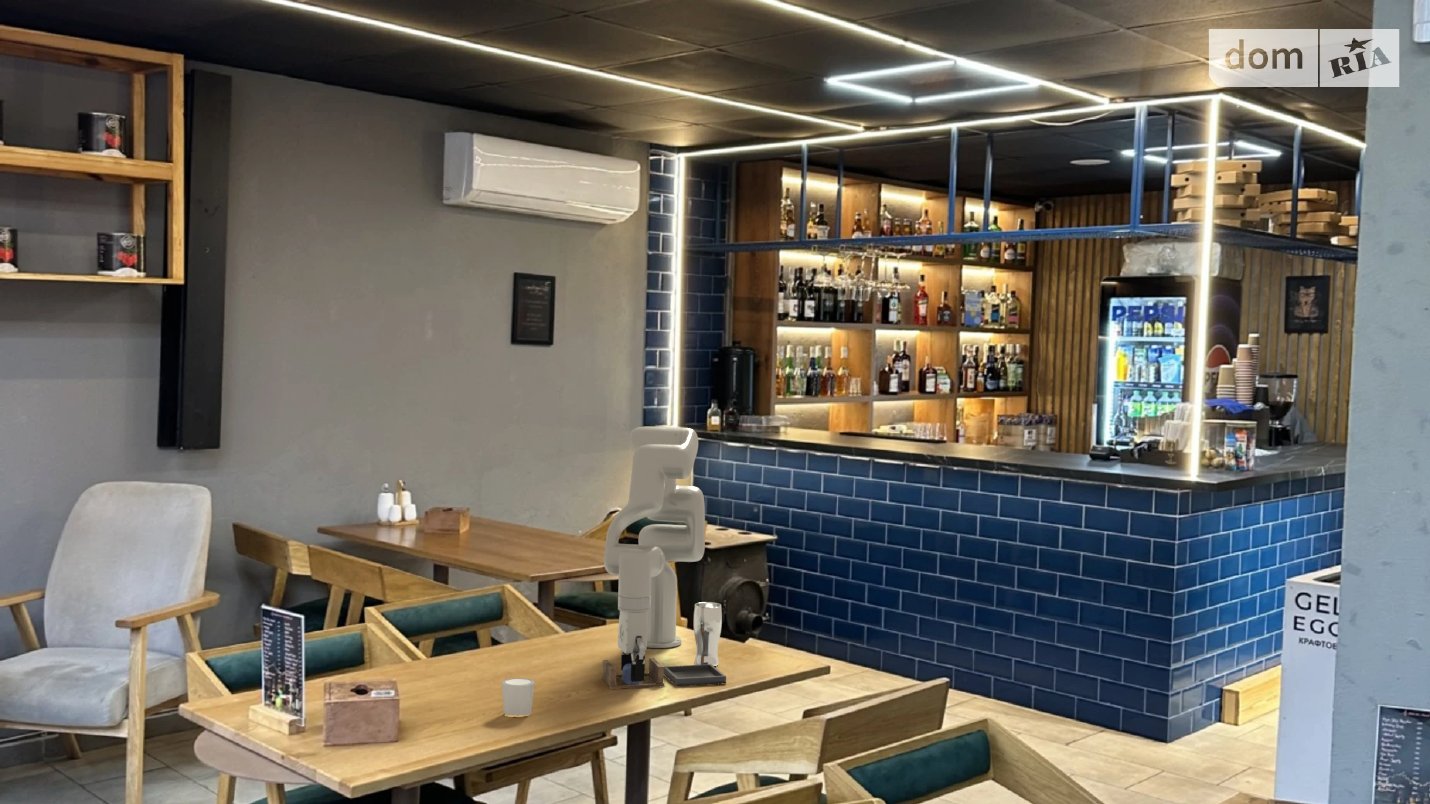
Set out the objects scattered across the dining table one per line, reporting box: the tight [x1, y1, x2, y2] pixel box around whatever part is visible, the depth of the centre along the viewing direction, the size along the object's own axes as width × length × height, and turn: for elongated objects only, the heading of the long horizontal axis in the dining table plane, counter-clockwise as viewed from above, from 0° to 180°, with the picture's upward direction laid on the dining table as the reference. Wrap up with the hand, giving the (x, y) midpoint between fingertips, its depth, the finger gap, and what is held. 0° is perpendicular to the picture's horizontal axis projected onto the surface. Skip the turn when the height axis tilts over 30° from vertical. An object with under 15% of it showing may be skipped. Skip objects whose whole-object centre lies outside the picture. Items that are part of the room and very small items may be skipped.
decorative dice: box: [621, 664, 643, 685], centre depth 303 cm, size 4×4×4 cm
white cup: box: [501, 677, 535, 716], centre depth 274 cm, size 7×7×7 cm
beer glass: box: [693, 601, 723, 667], centre depth 321 cm, size 7×7×15 cm
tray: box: [663, 664, 727, 687], centre depth 307 cm, size 12×12×2 cm
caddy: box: [601, 657, 665, 690], centre depth 303 cm, size 11×12×4 cm
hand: (632, 676), depth 303 cm, fingers open, 9 cm apart
